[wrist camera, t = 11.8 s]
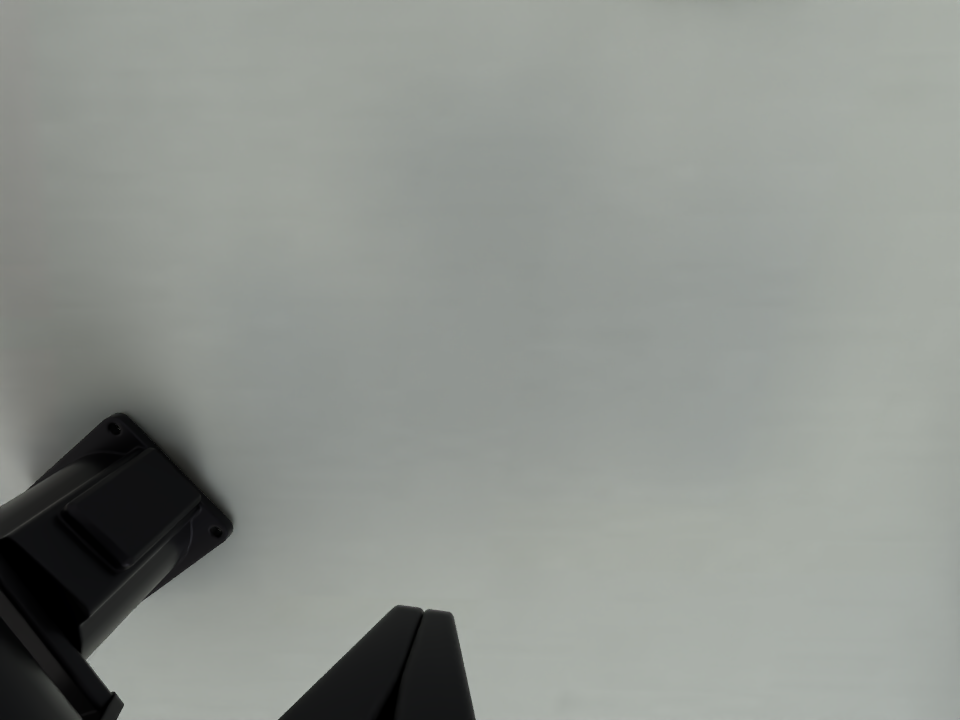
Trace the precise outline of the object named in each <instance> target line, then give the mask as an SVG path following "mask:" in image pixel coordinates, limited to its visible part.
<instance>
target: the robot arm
mask: <svg viewBox="0 0 960 720" xmlns="http://www.w3.org/2000/svg"><path fill="white" fill-rule="evenodd" d="M116 424H117V425H118V426H119V427H120V429H118V428H117V426H116ZM216 527H218V528H220V529H221V531H220V530H218V529H217V528H216ZM232 532H233V525H232V523H231V521H230V520H229V519H228V518H227V517H226V516H225V515H224V514H223V513H222V512H221V511H220V510H219V509H218V508H217V507H216V506H215V505H214V504H213V503H212V502H211V501H210V500H209V499H208V498H207V496H206V495H205V494H204V493H203V492H202V491H201V490H200V489H199V488H198V487H197V486H196V485H195V484H194V483H193V482H192V481H191V480H190V479H189V478H188V477H187V476H186V475H185V474H184V473H183V472H182V471H181V470H180V469H179V468H178V467H177V466H176V465H175V464H174V463H173V462H172V461H171V460H170V459H169V458H168V457H167V456H166V455H165V454H164V453H163V451H162V450H161V449H160V448H159V447H158V446H157V445H156V444H155V443H154V442H153V441H152V440H151V439H150V438H149V437H148V436H147V435H146V434H145V433H144V432H143V431H142V430H141V429H140V428H139V427H138V426H137V425H136V424H135V423H134V422H133V421H132V420H131V419H130V418H129V417H128V416H127V415H125V414H122V413H115V414H113V415H111V416H110V417H108V418H106V419H104V420H103V421H102V422H101V423H100V424H99V425H98V426H97V427H96V428H95V429H93V430H92V431H91V432H90V433H89V434H88V435H87V436H86V437H85V438H84V439H82V440H81V441H80V442H79V443H78V444H77V445H76V446H75V447H74V448H73V449H71V450H70V451H69V452H68V453H67V454H66V455H65V456H64V457H63V458H62V459H60V460H59V461H58V462H57V463H56V464H55V465H54V466H53V467H52V468H51V469H49V470H48V471H47V472H46V473H45V474H44V475H43V476H42V477H41V478H40V479H39V480H37V481H36V482H35V483H34V484H33V485H32V486H31V487H30V488H29V489H28V490H26V491H25V492H24V493H22V494H20V495H19V496H17V497H15V498H14V499H12V500H10V501H9V502H7V503H6V504H4V505H2V506H1V507H0V720H117V718H118V716H119V714H120V712H121V710H122V708H123V706H124V703H123V702H122V701H121V699H120V698H119V697H118V696H117V694H116V693H115V692H110V691H109V690H108V688H107V687H106V686H105V685H104V683H103V682H102V681H101V679H100V678H99V677H98V676H97V674H96V673H95V672H94V670H93V669H92V668H91V666H90V665H89V664H88V663H87V661H86V659H87V658H88V657H89V656H90V655H91V654H92V653H93V652H94V651H95V650H96V649H97V647H98V646H99V645H100V644H101V643H102V642H103V641H104V640H105V639H106V638H107V637H108V636H109V635H110V634H111V633H112V632H113V631H114V630H115V629H116V628H117V626H118V625H119V624H120V623H121V622H122V621H123V620H124V619H125V618H126V617H127V616H128V615H129V614H130V613H131V612H132V611H133V610H134V609H135V608H136V607H137V605H138V604H139V603H140V602H142V601H143V600H144V599H146V598H147V597H148V596H150V595H151V594H153V593H154V592H155V591H157V590H158V589H159V588H161V587H162V586H164V585H165V584H166V583H168V582H169V581H170V580H172V579H173V578H174V577H176V576H177V575H179V574H180V573H181V572H183V571H184V570H185V569H187V568H188V567H190V566H191V565H192V564H194V563H195V562H196V561H198V560H199V559H201V558H202V557H203V556H205V555H206V554H207V553H209V552H210V551H212V550H213V549H214V548H216V547H217V546H218V545H220V544H221V543H223V542H224V541H225V540H226V539H227V538H228V537H229V536H230V534H231V533H232ZM278 720H476V719H475V714H474V710H473V705H472V700H471V696H470V691H469V686H468V682H467V677H466V672H465V667H464V663H463V658H462V653H461V649H460V644H459V639H458V635H457V630H456V625H455V620H454V616H453V615H452V613H451V612H446V611H439V610H432V609H428V610H426V611H425V612H424V611H423V610H422V609H421V608H418V607H411V606H403V605H397V606H395V607H394V608H393V609H392V610H391V611H389V612H388V613H387V614H386V615H385V616H384V617H383V618H382V619H381V620H380V621H379V622H378V623H377V624H376V625H375V626H374V627H373V628H372V629H371V630H370V631H369V632H368V633H367V634H366V635H365V636H364V637H363V638H362V639H361V640H360V641H359V642H358V643H357V644H356V645H355V646H353V647H352V648H351V649H350V650H349V651H348V652H347V653H346V654H345V655H344V656H343V657H342V658H341V659H340V660H339V661H338V662H337V663H336V664H335V665H334V666H333V667H332V668H331V669H330V670H329V671H328V672H327V673H326V674H325V675H324V676H323V677H322V678H321V679H320V680H318V681H317V682H316V683H315V684H314V685H313V686H312V687H311V688H310V689H309V690H308V691H307V692H306V693H305V694H304V695H303V696H302V697H301V698H300V699H299V700H298V701H297V702H296V703H295V704H294V705H293V706H292V707H291V708H290V709H289V710H288V711H287V712H286V713H285V714H284V715H282V716H281V717H280V718H279V719H278Z"/></svg>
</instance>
